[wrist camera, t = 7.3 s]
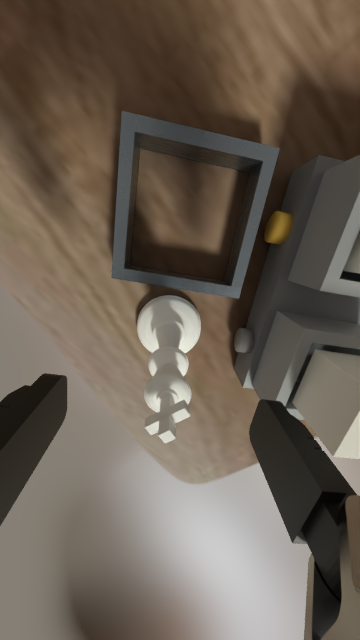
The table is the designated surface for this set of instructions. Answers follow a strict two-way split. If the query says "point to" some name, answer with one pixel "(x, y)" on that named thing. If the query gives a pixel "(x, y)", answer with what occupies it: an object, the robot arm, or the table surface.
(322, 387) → the breaker
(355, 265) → the white square block
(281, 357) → the yellow-knobbed grey box
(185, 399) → the chess piece
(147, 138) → the frame
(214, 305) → the table surface
